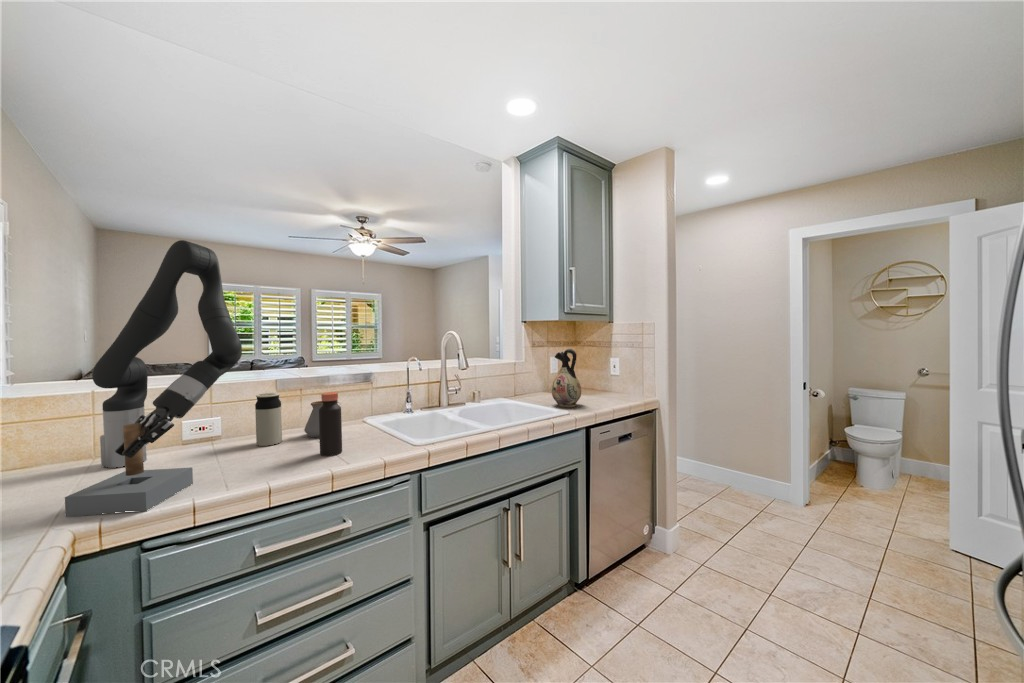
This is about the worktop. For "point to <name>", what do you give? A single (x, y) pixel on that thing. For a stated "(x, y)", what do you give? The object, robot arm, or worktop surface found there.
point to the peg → (136, 462)
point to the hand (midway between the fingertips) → (122, 454)
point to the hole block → (128, 492)
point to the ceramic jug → (566, 382)
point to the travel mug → (268, 419)
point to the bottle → (330, 425)
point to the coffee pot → (314, 420)
